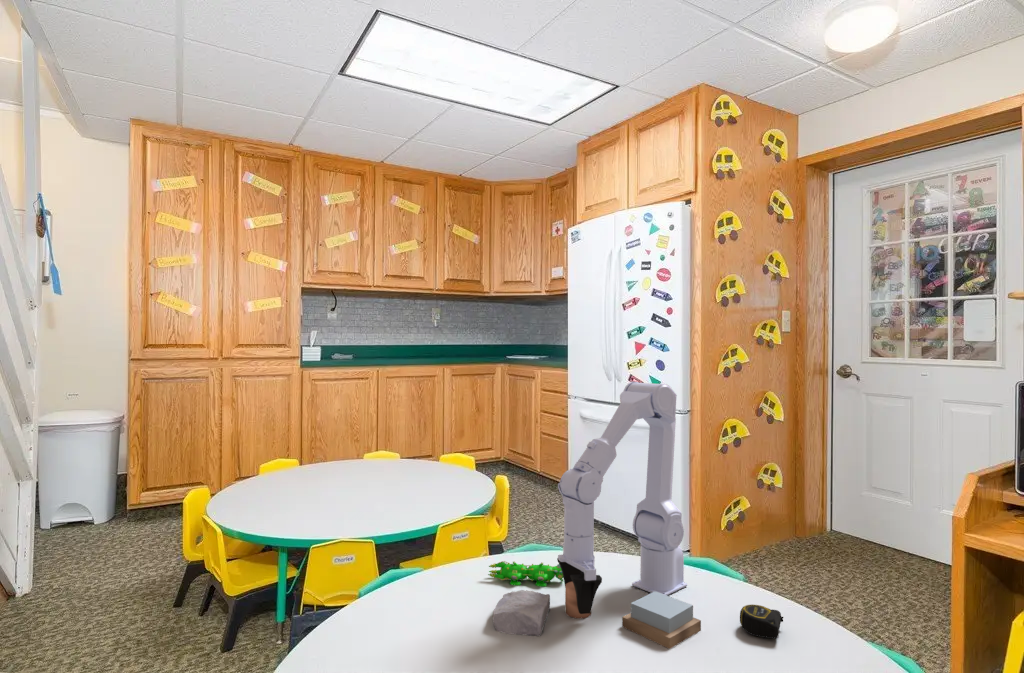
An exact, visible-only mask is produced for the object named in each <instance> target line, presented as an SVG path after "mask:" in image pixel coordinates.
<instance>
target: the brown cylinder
mask: <svg viewBox="0 0 1024 673" xmlns="http://www.w3.org/2000/svg"><path fill="white" fill-rule="evenodd" d="M564 588H565V591H564V592H565V594H564V595H565V596H564V598H565V601H564V604H565V605H564V606H565V607H564V612H565V614H566V616H568V617H570V618H574V619H579V620H580V619H586V618H590V617H591V615H592V611H591V612H590V613H587V614H580V613H579V611H578V606H577V597H576V591H575V587H574V584H573V582H568V583H567V584H566V585H565V584H564Z"/></svg>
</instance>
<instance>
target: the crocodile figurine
mask: <svg viewBox="0 0 1024 673" xmlns="http://www.w3.org/2000/svg"><path fill="white" fill-rule="evenodd" d="M488 567H489V568H492V570H489V571H488V572H489V573H488V574H487V575H488V576H489V577H491V578H493V579H498V580H500V581H509V580H510V582H509V585H512V586H514V587H515V586H517V587H518V586H521V585H522V583H521V582H522V581H524V580H530V581H531V582H534V581H536V582H535V584H534V585H535V586H537V587H541V588H543V587H547V585H548V584H547V583H551V581H552V580H553V579H554V578H556V579H558V580H559V581H560V582H562V583H564V578H563V574H562V570H561V567H560V565H559V563H558V564H557V565H554V566H552V565H550V564H546V565H545V564H544V562H541V563H539V564H534V563H531V565H530V564H528V565H527V564H524V563H521V564H519V563H517V562H516V561H512V563H510V562H506V560H503V561H499V562H497V563H496V562H495V563H492V564H490V565H488ZM497 568H500V569H498V570H497Z"/></svg>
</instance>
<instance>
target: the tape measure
mask: <svg viewBox="0 0 1024 673" xmlns="http://www.w3.org/2000/svg"><path fill="white" fill-rule="evenodd" d="M739 622H740V623H739V624H740V625H741V628H742V629H743V630H744V631H745V632H747V633H748V634H751V635H753V636H756V637H762V638H769V639H777V638H779V633H780V632H779V630H780V627H781V624H782V623H784V616H782V613H781V612H780V611H779V610H777V609H770V608H769V607H766V606H763V605H759V604H746V605H744V606H742V608H741V610H740V611H739Z"/></svg>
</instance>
